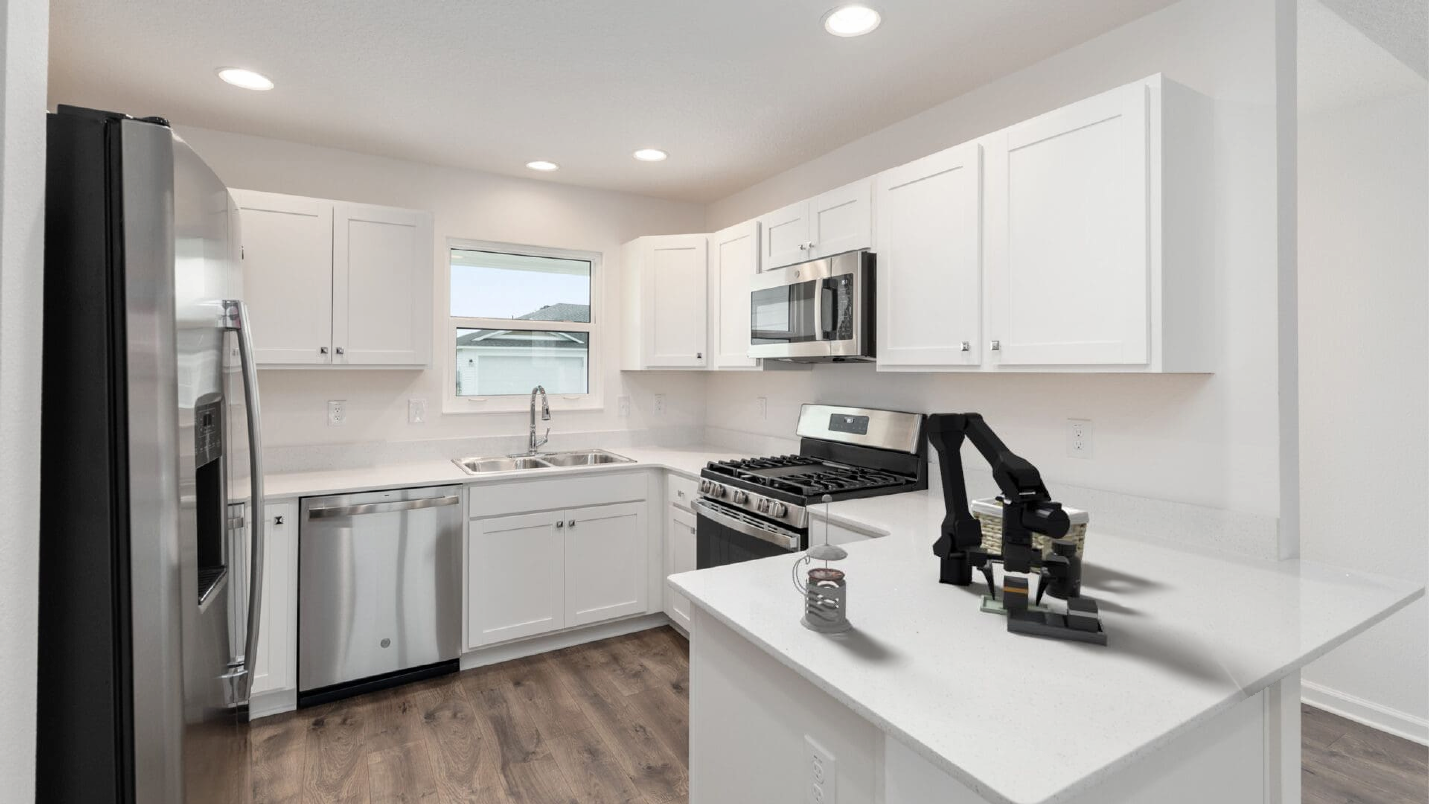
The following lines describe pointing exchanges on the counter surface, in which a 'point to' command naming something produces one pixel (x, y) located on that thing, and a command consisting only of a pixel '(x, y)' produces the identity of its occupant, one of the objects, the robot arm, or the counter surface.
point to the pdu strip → (1051, 626)
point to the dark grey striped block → (1015, 592)
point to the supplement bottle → (1073, 583)
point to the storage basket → (992, 532)
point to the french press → (825, 589)
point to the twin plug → (1082, 614)
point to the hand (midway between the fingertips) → (1015, 602)
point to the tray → (997, 605)
